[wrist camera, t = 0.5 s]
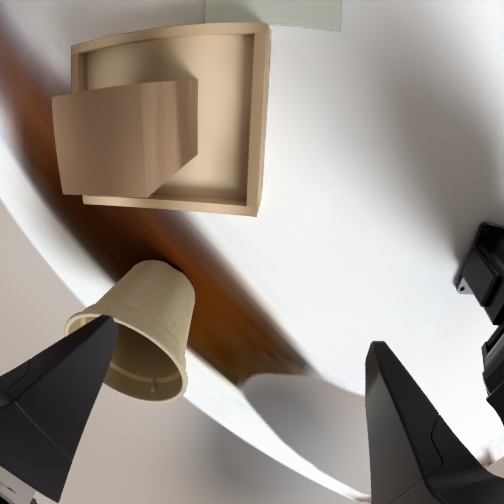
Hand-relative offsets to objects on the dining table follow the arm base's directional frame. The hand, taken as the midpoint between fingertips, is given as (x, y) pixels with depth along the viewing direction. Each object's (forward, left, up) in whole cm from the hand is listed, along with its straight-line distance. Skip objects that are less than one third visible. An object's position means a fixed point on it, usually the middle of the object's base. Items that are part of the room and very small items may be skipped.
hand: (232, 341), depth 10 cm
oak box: (+6, -5, -13) cm, 15 cm away
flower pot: (+8, +9, -13) cm, 18 cm away
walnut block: (+6, -5, -11) cm, 14 cm away
